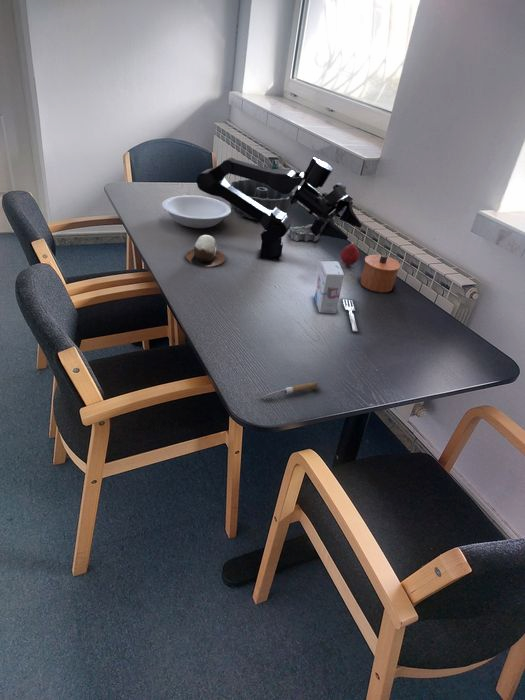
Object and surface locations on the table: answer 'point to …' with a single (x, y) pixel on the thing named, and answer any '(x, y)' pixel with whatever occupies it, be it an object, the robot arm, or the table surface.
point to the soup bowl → (196, 210)
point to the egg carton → (302, 233)
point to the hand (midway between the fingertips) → (354, 232)
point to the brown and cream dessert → (205, 252)
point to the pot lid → (382, 262)
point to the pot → (378, 279)
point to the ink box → (329, 286)
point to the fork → (351, 314)
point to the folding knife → (292, 389)
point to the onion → (350, 254)
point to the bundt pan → (261, 196)
